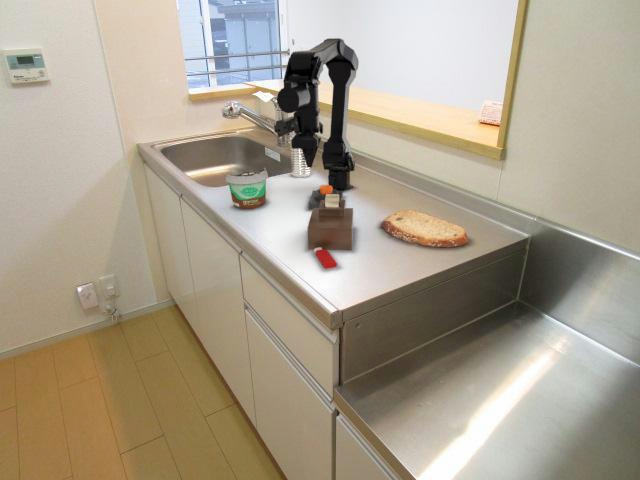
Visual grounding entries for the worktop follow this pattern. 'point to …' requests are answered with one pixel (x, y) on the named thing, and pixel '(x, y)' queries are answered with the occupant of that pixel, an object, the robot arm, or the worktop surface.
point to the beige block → (332, 200)
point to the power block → (321, 198)
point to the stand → (331, 227)
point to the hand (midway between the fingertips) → (309, 167)
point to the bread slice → (424, 229)
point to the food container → (248, 189)
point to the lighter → (325, 258)
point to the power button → (325, 189)
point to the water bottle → (298, 158)
